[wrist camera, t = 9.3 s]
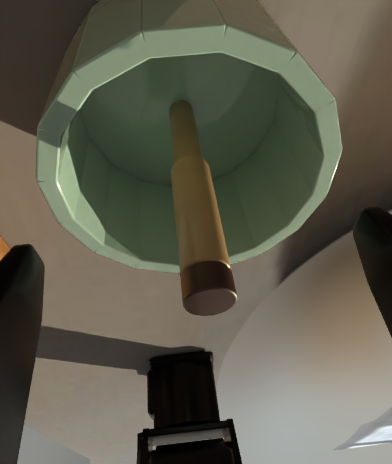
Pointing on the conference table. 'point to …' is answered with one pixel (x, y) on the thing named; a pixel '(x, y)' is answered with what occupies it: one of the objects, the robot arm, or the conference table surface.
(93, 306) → the conference table surface
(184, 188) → the tan brown rod
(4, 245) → the stand
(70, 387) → the conference table surface
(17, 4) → the conference table surface
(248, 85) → the cup
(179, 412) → the robot arm
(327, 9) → the conference table surface
